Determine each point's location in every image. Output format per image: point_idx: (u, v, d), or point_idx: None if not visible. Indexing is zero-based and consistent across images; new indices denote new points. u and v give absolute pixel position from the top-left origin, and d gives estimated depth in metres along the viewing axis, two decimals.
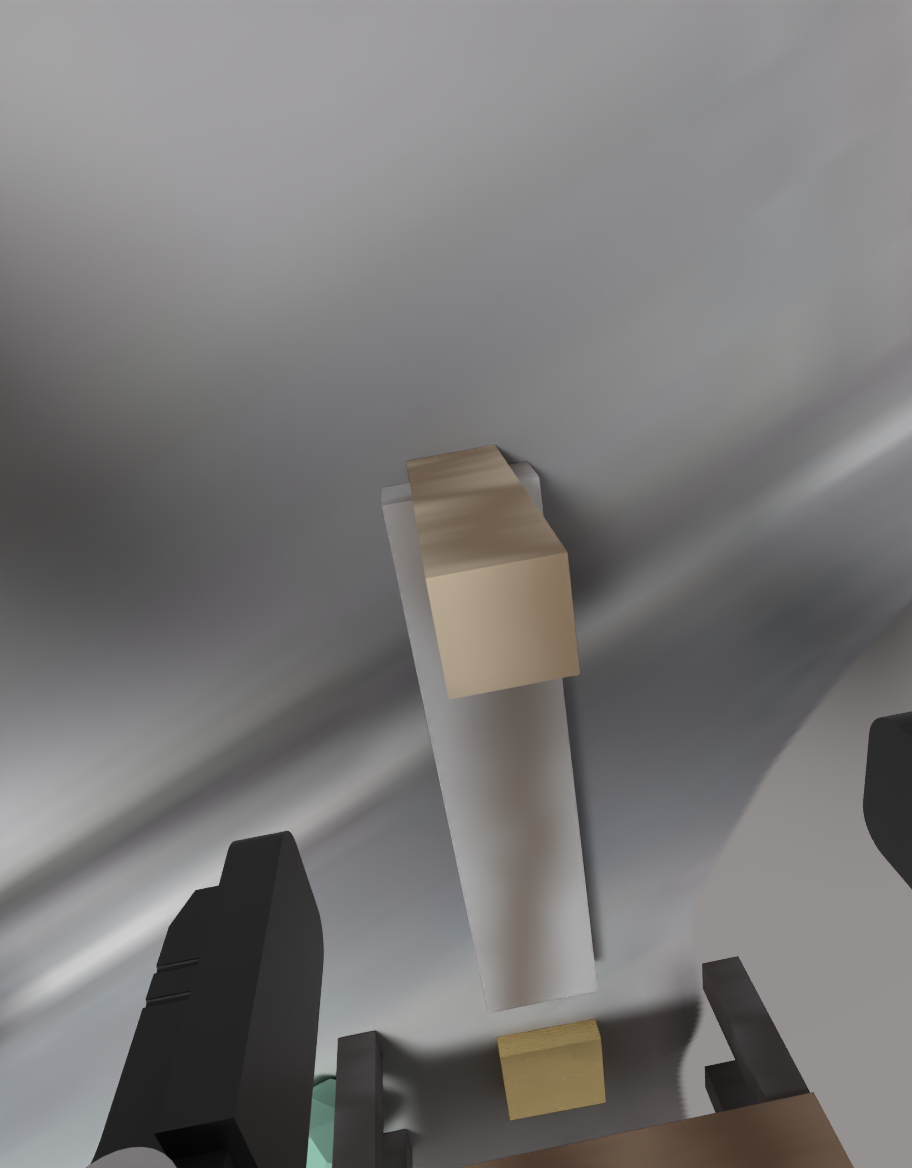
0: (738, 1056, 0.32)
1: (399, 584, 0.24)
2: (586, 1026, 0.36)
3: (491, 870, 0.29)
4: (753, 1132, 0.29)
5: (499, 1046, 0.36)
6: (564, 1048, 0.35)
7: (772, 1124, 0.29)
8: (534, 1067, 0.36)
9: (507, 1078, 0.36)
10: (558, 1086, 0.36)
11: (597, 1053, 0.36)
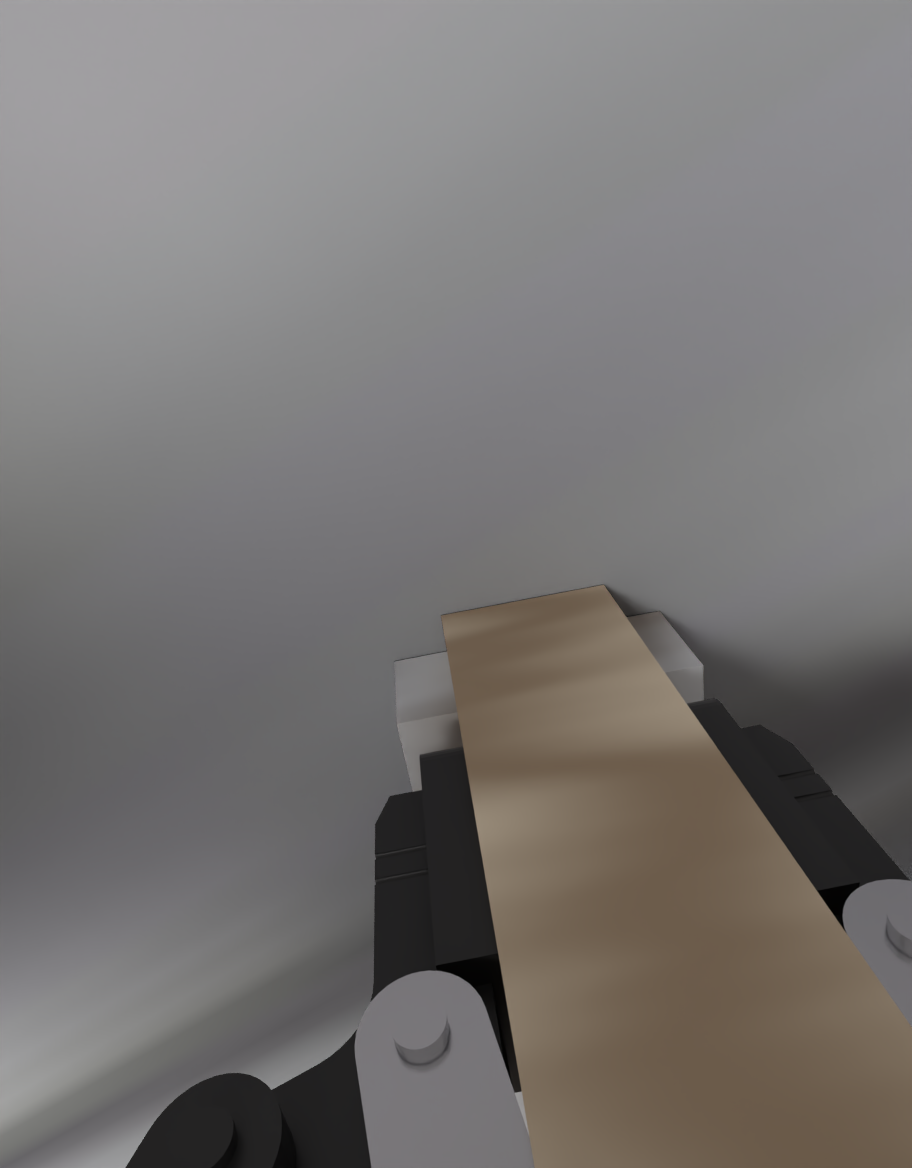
0: None
1: None
2: None
3: None
4: None
5: None
6: None
7: None
8: None
9: None
10: None
11: None
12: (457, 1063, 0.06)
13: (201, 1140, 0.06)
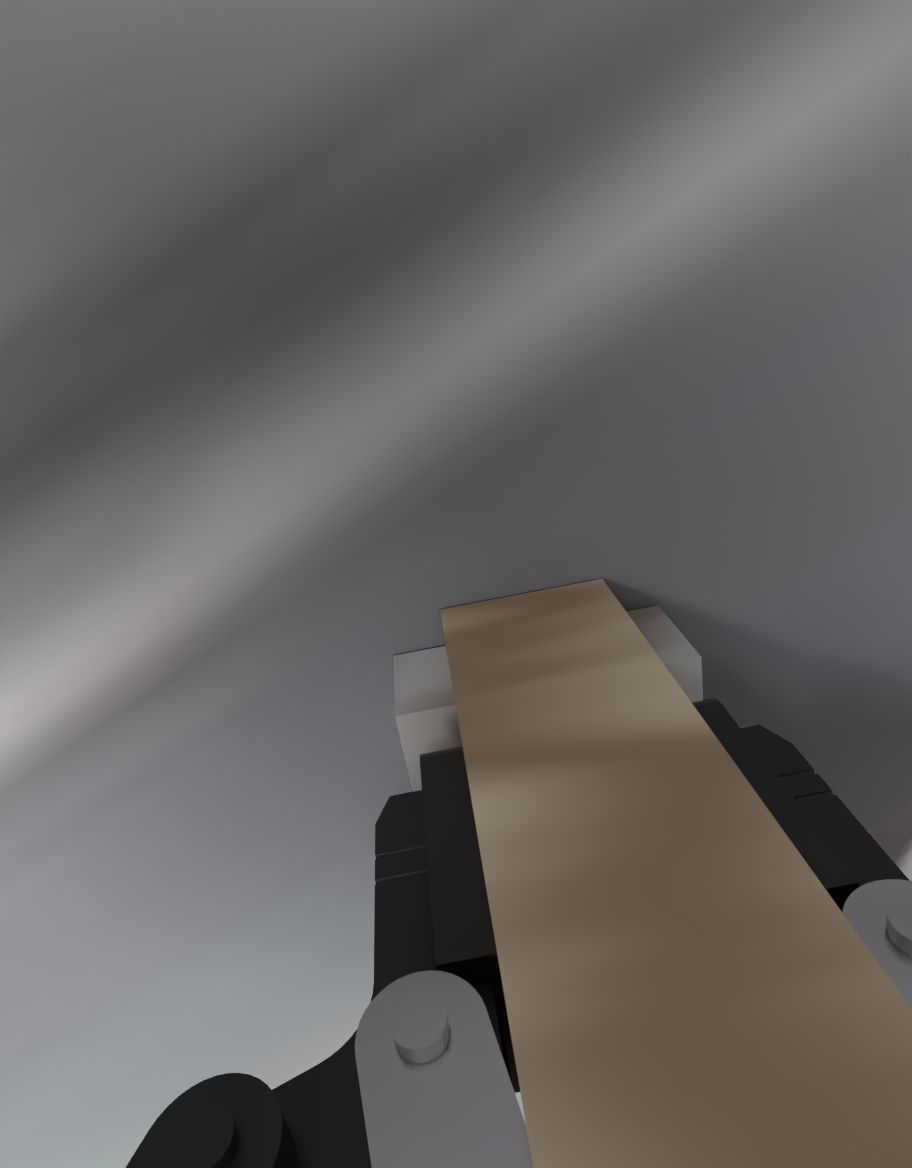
0: None
1: None
2: None
3: None
4: None
5: None
6: None
7: None
8: None
9: None
10: None
11: None
12: (457, 1063, 0.06)
13: (201, 1139, 0.06)
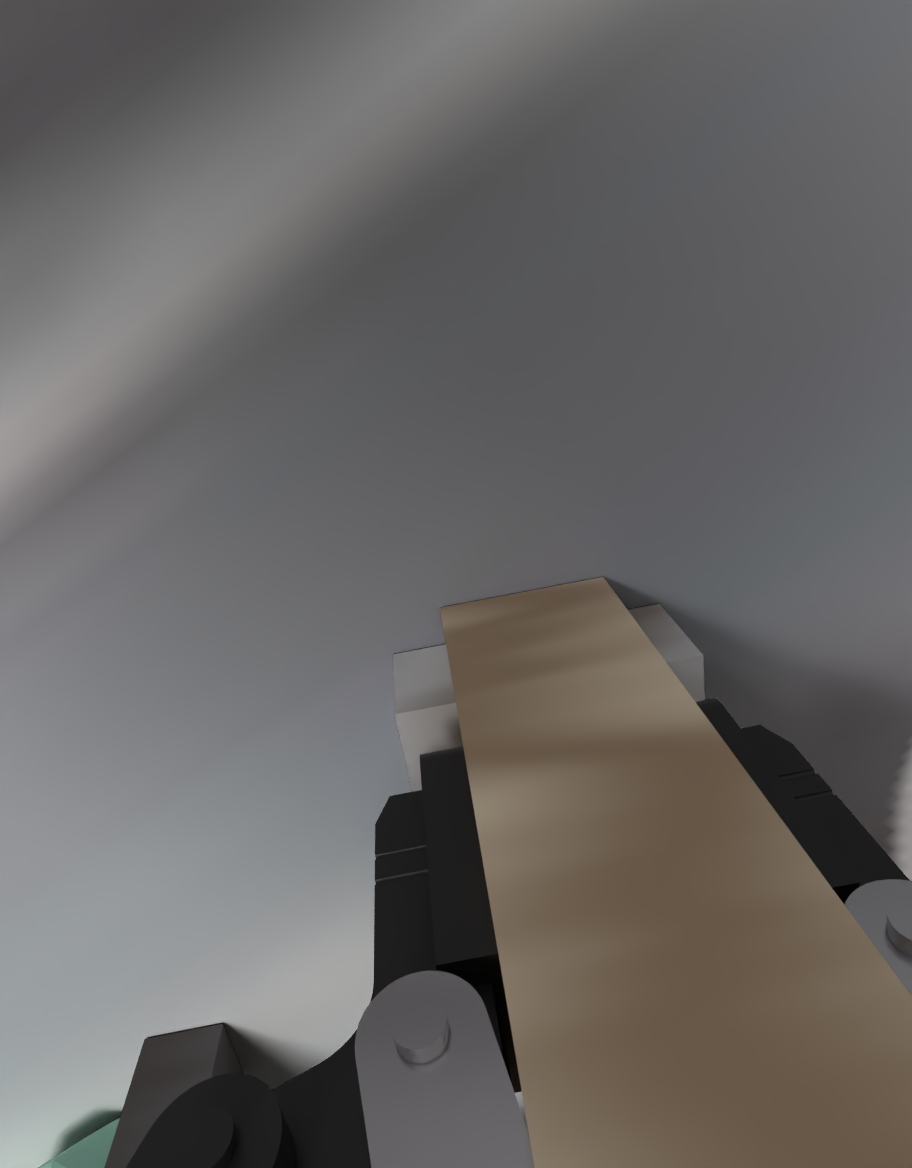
0: None
1: None
2: None
3: None
4: None
5: None
6: None
7: None
8: None
9: None
10: None
11: None
12: (457, 1062, 0.06)
13: (201, 1140, 0.06)
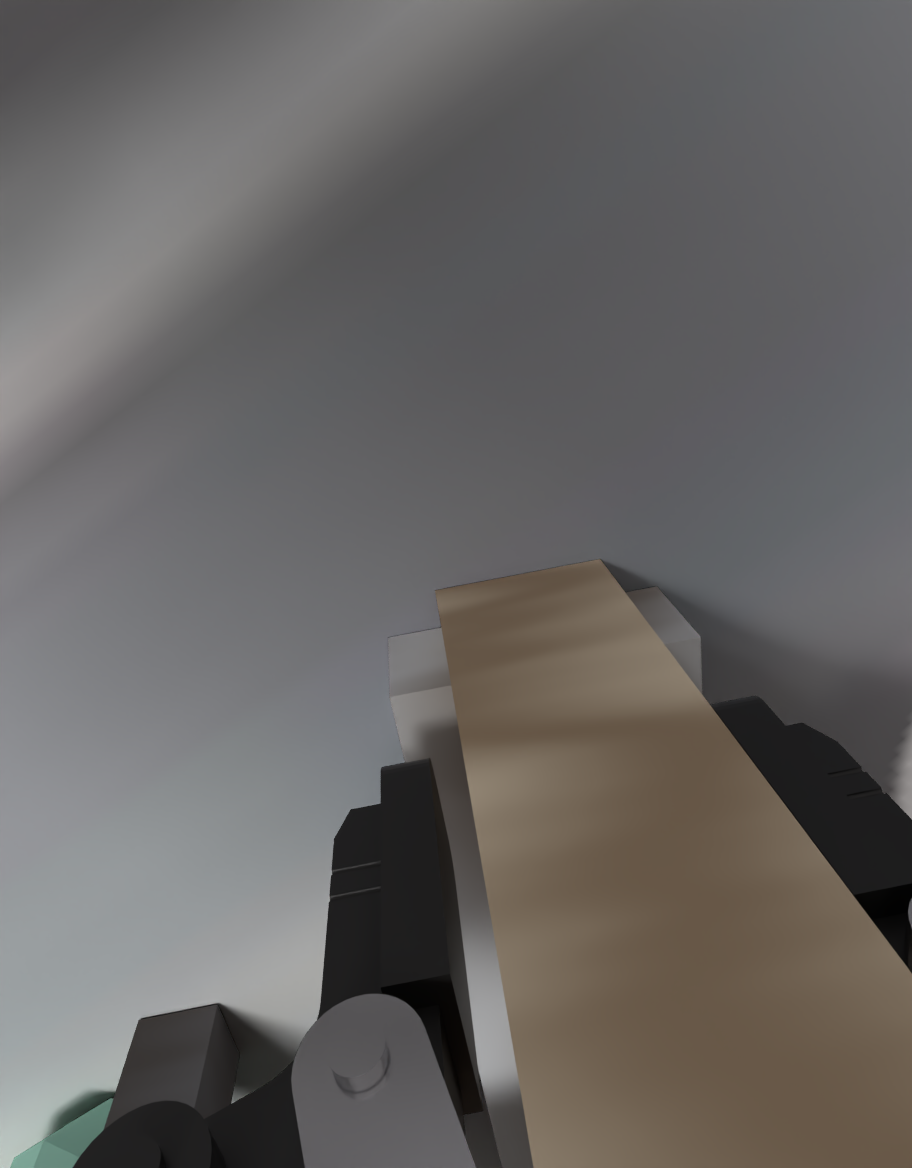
0: None
1: None
2: None
3: None
4: None
5: None
6: None
7: None
8: None
9: None
10: None
11: None
12: (393, 1091, 0.06)
13: None
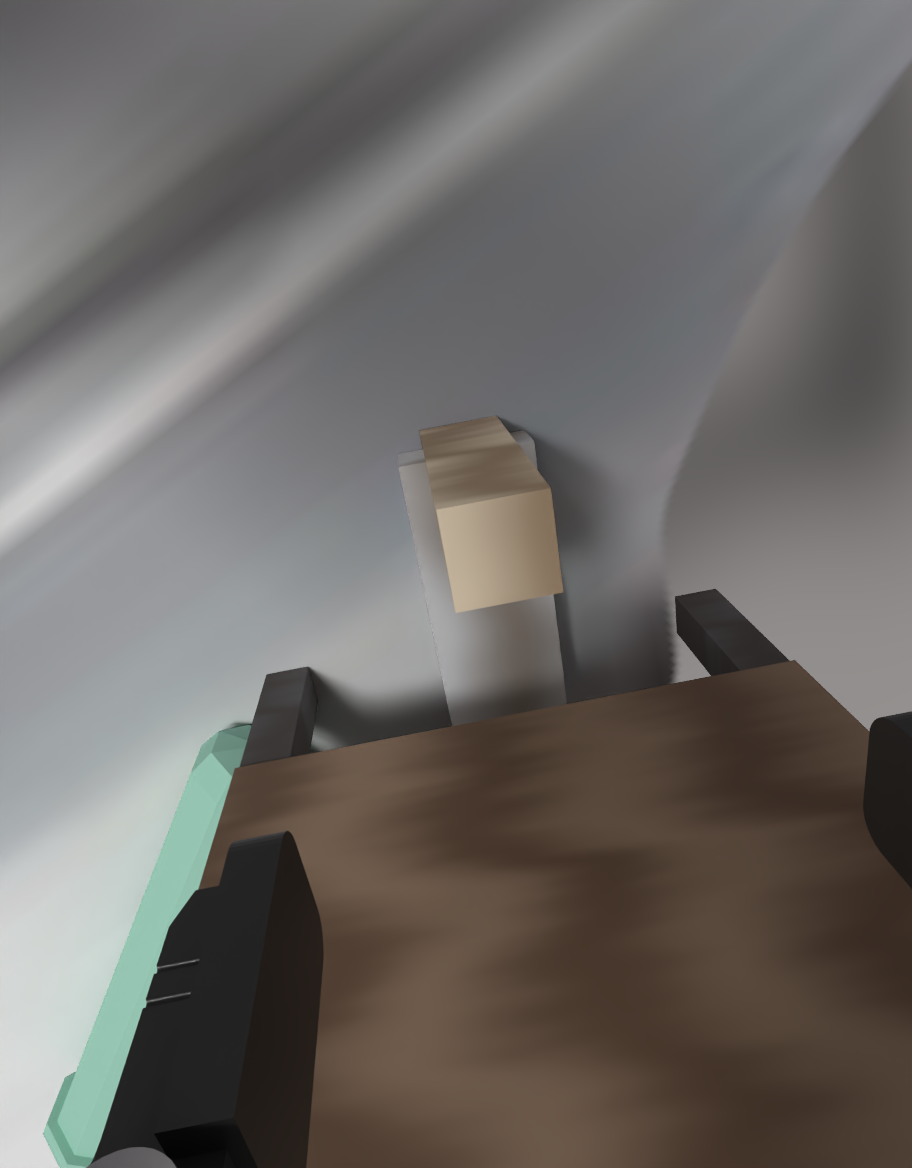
0: (712, 662, 0.28)
1: (413, 536, 0.27)
2: None
3: None
4: (723, 690, 0.25)
5: None
6: None
7: (745, 683, 0.25)
8: None
9: None
10: None
11: None
12: None
13: None
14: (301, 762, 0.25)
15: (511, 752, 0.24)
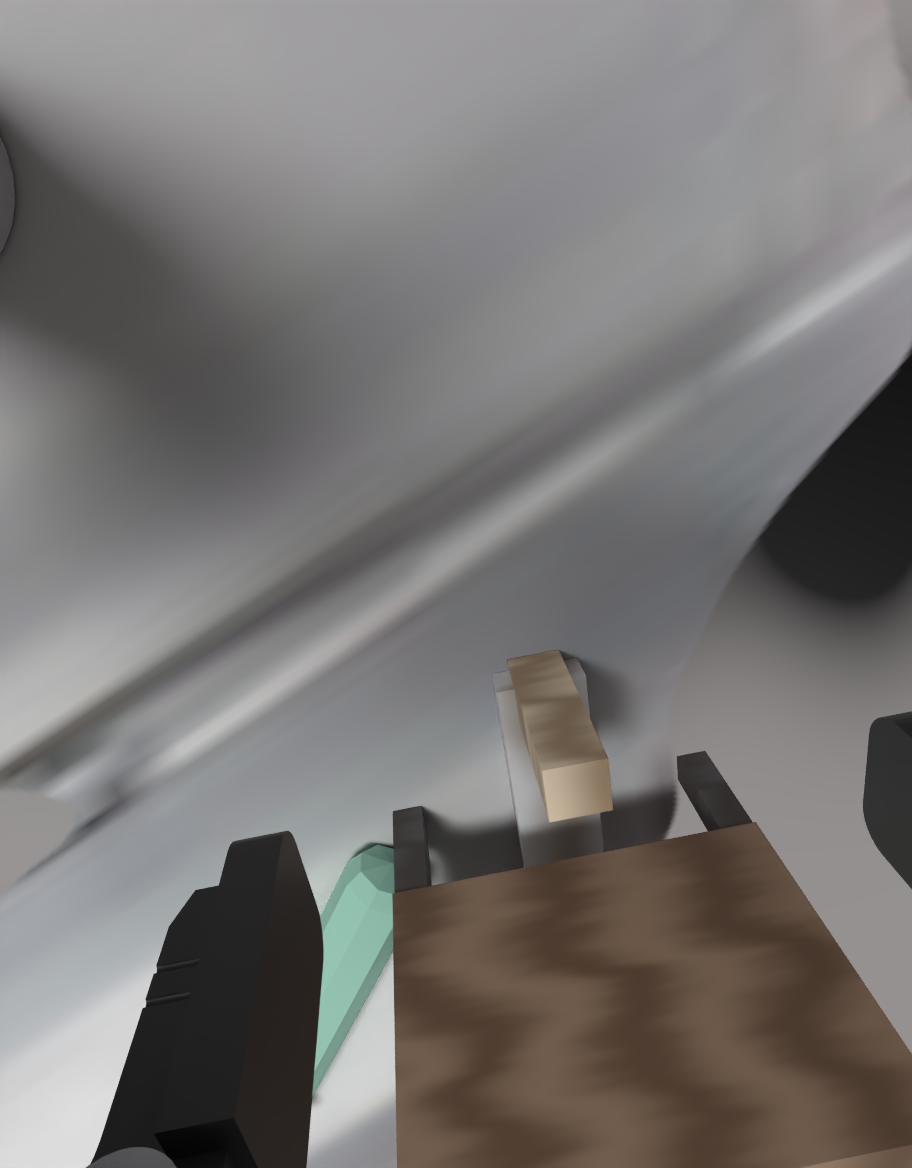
0: (702, 812, 0.42)
1: (504, 733, 0.41)
2: None
3: None
4: (709, 845, 0.38)
5: None
6: None
7: (723, 840, 0.39)
8: None
9: None
10: None
11: None
12: None
13: None
14: (437, 891, 0.39)
15: (575, 889, 0.37)
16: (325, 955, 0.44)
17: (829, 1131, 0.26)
